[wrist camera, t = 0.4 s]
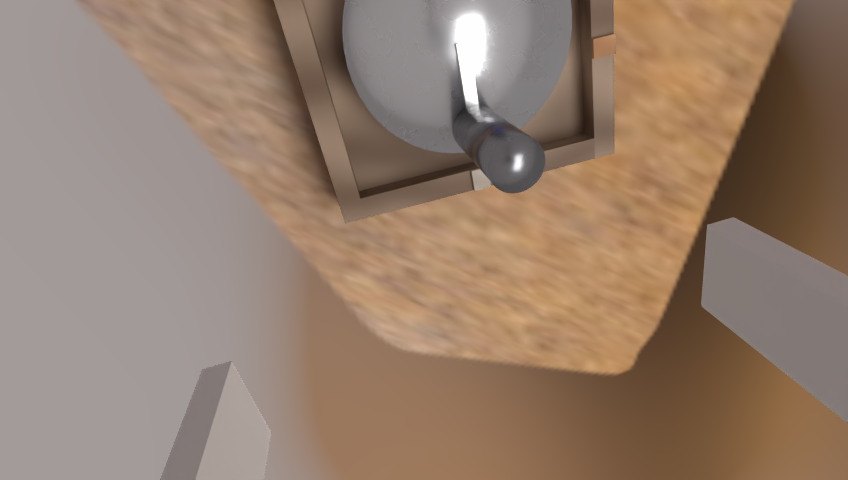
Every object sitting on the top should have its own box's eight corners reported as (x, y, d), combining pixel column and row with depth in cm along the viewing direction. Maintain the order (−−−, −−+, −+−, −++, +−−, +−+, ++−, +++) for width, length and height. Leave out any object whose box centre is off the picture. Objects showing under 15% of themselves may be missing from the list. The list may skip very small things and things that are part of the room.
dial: (311, -68, 26) (298, -107, 17) (550, -122, 26) (656, -186, 18) (374, 166, 32) (388, 226, 24) (564, 118, 33) (646, 158, 24)
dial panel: (244, -114, 26) (230, -132, 23) (580, -187, 27) (614, -214, 24) (344, 204, 35) (345, 224, 32) (591, 140, 36) (616, 154, 33)
